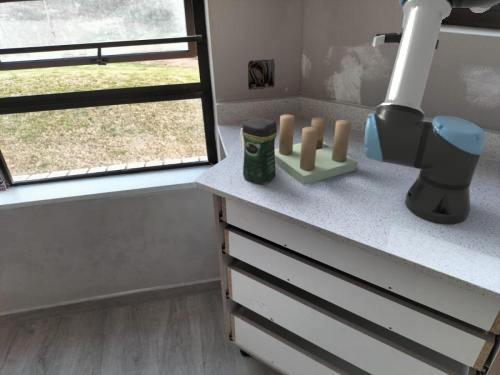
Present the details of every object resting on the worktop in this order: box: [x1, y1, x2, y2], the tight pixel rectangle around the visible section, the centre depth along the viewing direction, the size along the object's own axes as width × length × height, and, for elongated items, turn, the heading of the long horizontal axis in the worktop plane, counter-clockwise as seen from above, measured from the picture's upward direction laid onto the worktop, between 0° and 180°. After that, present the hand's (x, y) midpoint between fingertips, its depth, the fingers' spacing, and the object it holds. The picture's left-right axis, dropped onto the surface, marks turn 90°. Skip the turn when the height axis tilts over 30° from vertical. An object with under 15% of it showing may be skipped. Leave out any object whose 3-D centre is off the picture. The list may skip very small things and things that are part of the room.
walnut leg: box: [310, 116, 326, 150], centre depth 122 cm, size 4×4×12 cm
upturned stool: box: [275, 113, 358, 186], centre depth 115 cm, size 20×20×15 cm
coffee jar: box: [242, 115, 278, 185], centre depth 106 cm, size 10×8×19 cm
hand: (394, 44), depth 113 cm, fingers open, 13 cm apart
